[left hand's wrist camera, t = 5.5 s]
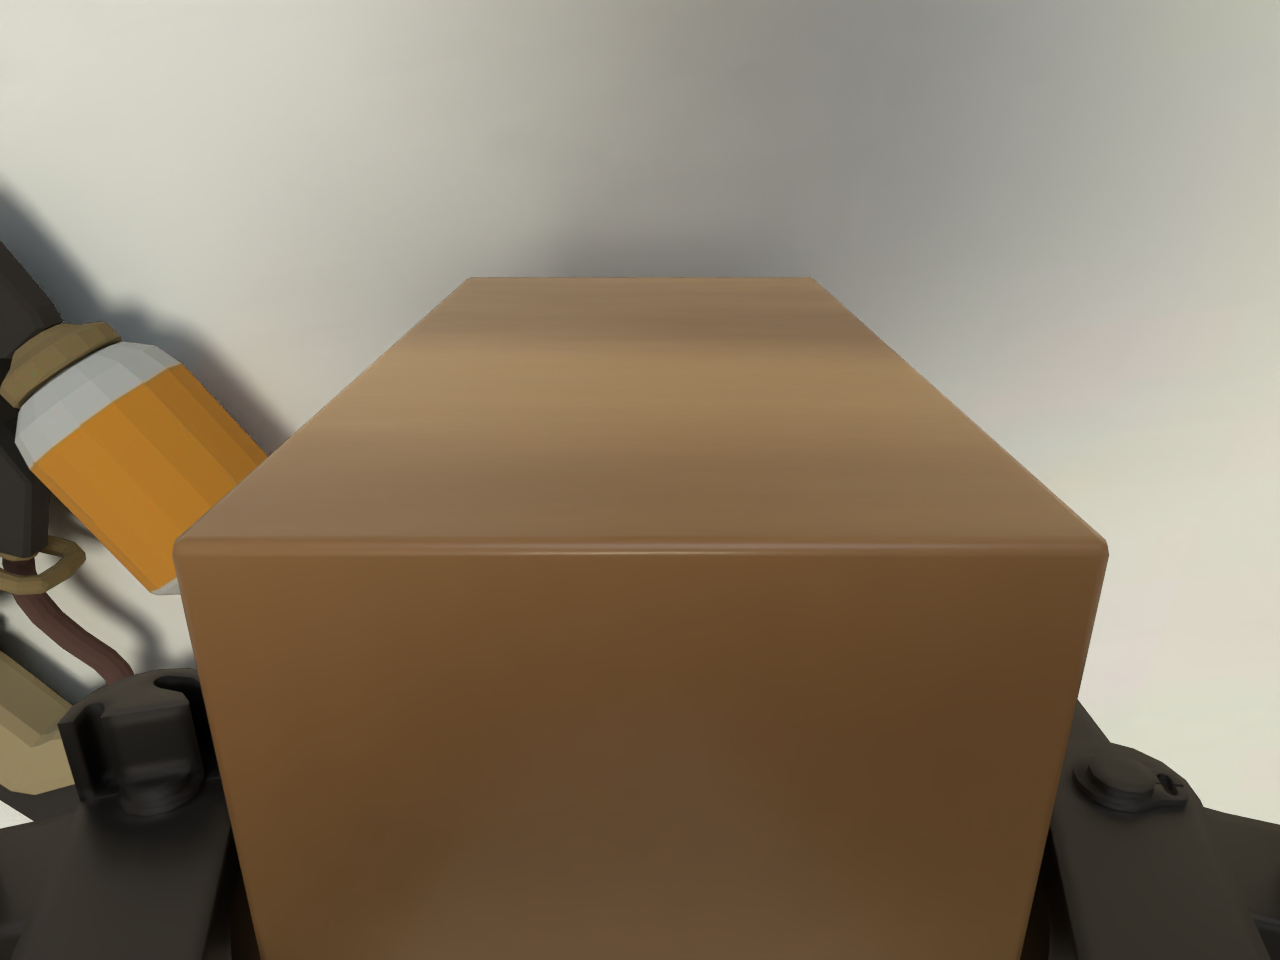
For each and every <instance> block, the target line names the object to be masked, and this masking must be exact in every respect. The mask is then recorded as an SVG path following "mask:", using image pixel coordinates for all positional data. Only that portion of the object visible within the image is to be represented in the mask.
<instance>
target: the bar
mask: <svg viewBox="0 0 1280 960" xmlns="http://www.w3.org/2000/svg"><path fill="white" fill-rule="evenodd" d="M172 557H173V562H174V566H175V571H176V575H177V580H178V585H179V589H180V594H181V598H182V603H183V607H184V612H185V616H186V621H187V626H188V630H189V635H190V639H191V644H192V648H193V653H194V657H195V662H196V667H197V671H198V676H199V680H200V685H201V689H202V694H203V698H204V703H205V708H206V712H207V717H208V721H209V726H210V730H211V735H212V739H213V744H214V749H215V753H216V758H217V762H218V767H219V771H220V776H221V780H222V785H223V790H224V794H225V799H226V803H227V808H228V812H229V817H230V821H231V826H232V831H233V835H234V840H235V844H236V849H237V853H238V858H239V862H240V867H241V872H242V876H243V881H244V885H245V890H246V894H247V899H248V903H249V908H250V913H251V917H252V922H253V926H254V931H255V935H256V940H257V944H258V949H259V954H260V958H261V960H1020V957H1021V953H1022V948H1023V943H1024V939H1025V934H1026V930H1027V925H1028V921H1029V916H1030V912H1031V907H1032V903H1033V898H1034V893H1035V889H1036V884H1037V880H1038V875H1039V871H1040V866H1041V862H1042V857H1043V853H1044V848H1045V844H1046V839H1047V834H1048V830H1049V825H1050V821H1051V816H1052V812H1053V807H1054V803H1055V798H1056V794H1057V789H1058V784H1059V780H1060V775H1061V771H1062V766H1063V762H1064V757H1065V753H1066V748H1067V744H1068V739H1069V734H1070V730H1071V725H1072V721H1073V716H1074V712H1075V707H1076V703H1077V698H1078V694H1079V689H1080V685H1081V680H1082V675H1083V671H1084V666H1085V662H1086V657H1087V653H1088V648H1089V644H1090V639H1091V635H1092V630H1093V625H1094V621H1095V616H1096V612H1097V607H1098V603H1099V598H1100V594H1101V589H1102V585H1103V580H1104V576H1105V571H1106V566H1107V562H1108V557H1109V552H1108V546H1107V543H1106V540H1105V539H1104V538H1103V537H1102V536H1101V535H1100V534H1098V533H1097V532H1096V531H1095V530H1094V529H1093V528H1092V527H1091V526H1089V525H1088V524H1087V523H1086V522H1085V521H1084V520H1083V519H1082V518H1080V517H1079V516H1078V515H1077V514H1076V513H1075V512H1074V511H1073V510H1072V509H1070V508H1069V507H1068V506H1067V505H1066V504H1065V503H1064V502H1063V501H1061V500H1060V499H1059V498H1058V497H1057V496H1056V495H1055V494H1054V493H1052V492H1051V491H1050V490H1049V489H1048V488H1047V487H1046V486H1045V485H1044V484H1042V483H1041V482H1040V481H1039V480H1038V479H1037V478H1036V477H1035V476H1033V475H1032V474H1031V473H1030V472H1029V471H1028V470H1027V469H1026V468H1024V467H1023V466H1022V465H1021V464H1020V463H1019V462H1018V461H1017V460H1016V459H1014V458H1013V457H1012V456H1011V455H1010V454H1009V453H1008V452H1007V451H1005V450H1004V449H1003V448H1002V447H1001V446H1000V445H999V444H998V443H996V442H995V441H994V440H993V439H992V438H991V437H990V436H989V435H988V434H986V433H985V432H984V431H983V430H982V429H981V428H980V427H979V426H977V425H976V424H975V423H974V422H973V421H972V420H971V419H970V418H968V417H967V416H966V415H965V414H964V413H963V412H962V411H961V410H960V409H958V408H957V407H956V406H955V405H954V404H953V403H952V402H951V401H949V400H948V399H947V398H946V397H945V396H944V395H943V394H942V393H940V392H939V391H938V390H937V389H936V388H935V387H934V386H933V385H932V384H930V383H929V382H928V381H927V380H926V379H925V378H924V377H923V376H921V375H920V374H919V373H918V372H917V371H916V370H915V369H914V368H912V367H911V366H910V365H909V364H908V363H907V362H906V361H905V360H904V359H902V358H901V357H900V356H899V355H898V354H897V353H896V352H895V351H893V350H892V349H891V348H890V347H889V346H888V345H887V344H886V343H884V342H883V341H882V340H881V339H880V338H879V337H878V336H877V335H876V334H874V333H873V332H872V331H871V330H870V329H869V328H868V327H867V326H865V325H864V324H863V323H862V322H861V321H860V320H859V319H858V318H856V317H855V316H854V315H853V314H852V313H851V312H850V311H849V310H848V309H846V308H845V307H844V306H843V305H842V304H841V303H840V302H839V301H837V300H836V299H835V298H834V297H833V296H832V295H831V294H830V293H828V292H827V291H826V290H825V289H824V288H823V287H822V286H821V285H820V284H818V283H817V282H816V281H815V280H814V279H812V278H751V277H750V278H749V277H471V278H469V279H467V280H466V281H465V282H463V283H462V284H461V285H460V286H459V287H458V288H457V289H456V290H454V291H453V292H452V293H451V294H450V295H449V296H448V297H447V298H446V299H444V300H443V301H442V302H441V303H440V304H439V305H438V306H437V307H435V308H434V309H433V310H432V311H431V312H430V313H429V314H428V315H426V316H425V317H424V318H423V319H422V320H421V321H420V322H419V323H418V324H416V325H415V326H414V327H413V328H412V329H411V330H410V331H409V332H407V333H406V334H405V335H404V336H403V337H402V338H401V339H400V340H399V341H397V342H396V343H395V344H394V345H393V346H392V347H391V348H390V349H388V350H387V351H386V352H385V353H384V354H383V355H382V356H381V357H379V358H378V359H377V360H376V361H375V362H374V363H373V364H372V365H371V366H369V367H368V368H367V369H366V370H365V371H364V372H363V373H362V374H360V375H359V376H358V377H357V378H356V379H355V380H354V381H353V382H351V383H350V384H349V385H348V386H347V387H346V388H345V389H344V390H343V391H341V392H340V393H339V394H338V395H337V396H336V397H335V398H334V399H332V400H331V401H330V402H329V403H328V404H327V405H326V406H325V407H323V408H322V409H321V410H320V411H319V412H318V413H317V414H316V415H315V416H313V417H312V418H311V419H310V420H309V421H308V422H307V423H306V424H304V425H303V426H302V427H301V428H300V429H299V430H298V431H297V432H295V433H294V434H293V435H292V436H291V437H290V438H289V439H288V440H287V441H285V442H284V443H283V444H282V445H281V446H280V447H279V448H278V449H276V450H275V451H274V452H273V453H272V454H271V455H270V456H269V457H267V458H266V459H265V460H264V461H263V462H262V463H261V464H260V465H259V466H257V467H256V468H255V469H254V470H253V471H252V472H251V473H250V474H248V475H247V476H246V477H245V478H244V479H243V480H242V481H241V482H239V483H238V484H237V485H236V486H235V487H234V488H233V489H232V490H231V491H229V492H228V493H227V494H226V495H225V496H224V497H223V498H222V499H220V500H219V501H218V502H217V503H216V504H215V505H214V506H213V507H211V508H210V509H209V510H208V511H207V512H206V513H205V514H204V515H203V516H201V517H200V518H199V519H198V520H197V521H196V522H195V523H194V524H192V525H191V526H190V527H189V528H188V529H187V530H186V531H185V532H183V533H182V534H181V535H180V536H179V537H178V538H177V539H176V540H175V542H174V545H173V552H172Z"/></svg>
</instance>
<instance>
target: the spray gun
mask: <svg viewBox="0 0 1280 960" xmlns="http://www.w3.org/2000/svg"><path fill="white" fill-rule="evenodd" d="M61 322H63V320H62V319H61V317H60V315H59V313H58V312H57V310H56V308H55V306H54V305H53V303H52V302H51V301H50V299H49V298H48V297H47V296H46V295H45V293H44V292H43V291H42V290H41V289H40V287H39V286H38V285H37V284H36V283H35V281H34V280H33V279H32V278H31V277H30V276H29V274H28V273H27V272H26V271H25V270H24V268H23V267H22V266H21V265H20V264H19V262H18V261H17V260H16V259H15V258H14V256H13V255H12V254H11V253H10V252H9V251H8V249H7V248H6V247H5V246H4V245H3V243H2V242H1V241H0V556H1V557H2V562H3V568H4V569H2V568H0V590H2V591H6V592H10V593H12V594H13V596H14V598H15V600H16V602H17V604H18V605H19V606H20V608H21V609H22V610H23V611H24V612H25V614H26V615H27V616H28V617H29V619H30V620H31V621H32V622H33V623H34V624H35V625H36V626H37V627H38V628H39V629H41V630H42V631H43V632H44V633H45V634H46V635H48V636H49V637H50V638H51V639H52V640H53V641H55V642H56V643H57V644H58V645H59V646H60V647H62V648H63V649H65V650H66V651H68V652H69V653H71V654H72V655H74V656H75V657H77V658H78V659H80V660H81V661H83V662H84V663H86V664H87V665H89V666H90V667H92V668H93V669H95V670H96V671H97V672H98V673H99V674H100V675H101V676H102V677H103V678H104V679H105V680H106V684H107V685H109V684H111V683H114V682H116V681H118V680H121V679H123V678H126V677H128V676H132V675H134V673H133V671H132V669H131V667H130V665H129V664H128V663H127V662H126V661H125V660H124V659H123V658H122V657H121V656H120V655H119V654H118V653H117V652H116V651H115V650H114V649H112V648H111V647H109V646H108V645H106V644H105V643H103V642H102V641H100V640H99V639H97V638H96V637H94V636H93V635H91V634H90V633H88V632H87V631H85V630H84V629H83V628H82V627H81V626H79V625H78V624H77V623H76V622H74V621H73V620H72V619H71V618H70V617H68V616H67V615H66V614H65V613H63V612H62V611H61V609H60V608H59V607H58V606H57V605H56V604H55V602H54V601H53V600H52V599H51V598H50V597H49V595H48V594H47V593H46V591H48V590H50V589H51V588H53V587H55V586H56V585H58V584H60V583H61V582H63V581H65V580H66V579H68V578H69V577H70V576H71V575H72V574H73V573H74V572H75V571H76V570H77V569H78V568H79V567H80V566H81V565H82V564H83V563H84V561H85V560H86V555H85V552H84V551H83V550H82V549H81V548H80V547H79V546H78V545H77V544H76V543H75V542H72V541H69V540H65V539H62V538H59V537H54V536H49V535H48V522H49V501H50V491H51V492H52V493H53V494H54V495H55V496H56V497H57V498H58V499H59V500H60V501H61V502H62V503H63V504H64V505H65V506H66V507H67V508H68V509H69V510H70V511H71V512H72V513H73V514H74V515H75V516H76V517H77V518H78V519H79V520H80V521H81V522H82V523H83V524H84V525H85V526H86V527H87V528H88V530H89V531H90V532H91V533H92V534H93V535H94V536H95V537H96V538H97V539H98V540H99V541H100V542H101V543H102V544H103V545H104V546H105V547H106V548H107V549H108V550H109V551H110V552H111V553H112V554H113V555H114V556H115V557H116V558H117V559H118V560H119V561H120V562H121V563H122V564H123V565H124V566H125V567H126V568H127V569H128V570H129V571H130V572H131V573H132V574H133V575H134V576H135V578H136V579H137V580H138V581H139V582H140V583H141V584H142V585H143V586H144V587H145V588H146V589H147V590H148V591H149V592H150V593H153V594H155V595H175V594H180V589H179V585H178V580H177V575H176V571H175V566H174V562H173V557H172V552H173V545H174V542H175V540H176V539H177V538H178V537H179V536H180V535H181V534H182V533H183V532H185V531H186V530H187V529H188V528H189V527H190V526H191V525H192V524H194V523H195V522H196V521H197V520H198V519H199V518H200V517H201V516H203V515H204V514H205V513H206V512H207V511H208V510H209V509H210V508H211V507H213V506H214V505H215V504H216V503H217V502H218V501H219V500H220V499H222V498H223V497H224V496H225V495H226V494H227V493H228V492H229V491H231V490H232V489H233V488H234V487H235V486H236V485H237V484H238V483H239V482H241V481H242V480H243V479H244V478H245V477H246V476H247V475H248V474H250V473H251V472H252V471H253V470H254V469H255V468H256V467H257V466H259V465H260V464H261V463H262V462H263V461H264V460H265V459H266V458H267V457H268V456H267V455H266V454H265V453H264V452H263V451H262V449H261V448H260V447H259V446H258V445H257V444H256V443H255V442H254V441H253V440H252V439H251V438H250V436H249V435H248V434H247V433H246V432H245V431H244V430H243V429H242V428H241V427H240V426H239V425H238V423H237V422H236V421H235V420H234V419H233V418H232V417H231V416H230V415H229V414H228V413H227V412H226V410H225V409H224V408H223V407H222V406H221V405H220V404H219V403H218V402H217V401H216V400H215V399H214V397H213V396H212V395H211V394H210V393H209V392H208V391H207V390H206V389H205V388H204V387H203V386H202V385H201V383H200V382H199V381H198V380H197V379H196V378H195V377H194V376H193V375H192V374H191V373H190V372H189V370H188V369H187V368H186V367H185V366H184V365H183V364H182V363H181V362H179V361H178V360H176V359H175V358H173V357H172V356H170V355H169V354H167V353H166V352H164V351H163V350H161V349H160V348H158V347H157V346H155V345H148V344H140V343H132V342H121V337H120V336H119V335H118V334H117V333H116V332H115V331H114V329H113V328H112V327H111V326H110V325H109V324H107V323H105V322H101V321H100V322H93V323H87V324H80V325H77V324H66V323H63V324H60V323H61ZM17 408H21V409H20V411H19V413H18V417H17ZM39 552H42V553H46V554H51V555H56V556H60V557H63V558H62V559H61V560H60V561H59V562H57V563H56V564H55V565H54V566H52V567H51V568H49V569H47V570H46V571H44V572H43V573H41V574H39V575H37V573H36V569H35V559H34V557H35V556H36V555H37V554H38V553H39ZM72 706H73V705H71V704H70V703H69V702H67V701H66V700H64V699H63V698H62V697H60V696H59V695H58V694H57V693H55V692H54V691H53V690H51V689H50V688H49V687H48V686H46V685H45V684H44V683H42V682H41V681H40V680H38V679H37V678H36V677H35V676H33V675H32V674H31V673H29V672H28V671H27V670H26V669H24V668H23V667H22V666H20V665H19V664H18V663H17V662H15V661H14V660H13V659H11V658H10V657H9V656H8V655H6V654H5V653H4V652H2V651H0V800H1V801H3V802H4V803H6V804H7V805H9V806H11V807H12V808H14V809H15V810H17V811H19V812H20V813H22V814H23V815H25V816H26V817H28V818H30V819H31V820H33V821H39V820H43V819H48V818H53V817H57V816H61V815H64V814H68V813H71V812H75V811H76V809H77V807H78V804H79V802H80V800H79V796H78V793H77V789H76V786H75V783H74V779H73V776H72V773H71V769H70V766H69V763H68V759H67V756H66V752H65V749H64V746H63V742H62V739H61V736H60V732H59V729H58V726H57V723H58V722H59V721H60V720H61V719H62V718H63V716H64V715H65V714H66V713H67V712H68V711H69V709H70V708H71V707H72Z"/></svg>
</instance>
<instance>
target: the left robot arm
mask: <svg viewBox="0 0 1280 960" xmlns="http://www.w3.org/2000/svg"><path fill="white" fill-rule="evenodd" d="M57 726H58V729H59V732H60V736H61V739H62V742H63V746H64V749H65V752H66V756H67V759H68V763H69V766H70V769H71V773H72V776H73V779H74V783H75V786H76V789H77V793H78V796H79V800H80V802H79V804H78V807H77V809H76V811H75V812H71V813H68V814H64V815H61V816H57V817H53V818H48V819H43V820H39V821H34V822H30V823H25V824H20V825H16V826H11V827H6V828H2V829H0V960H261V958H260V954H259V949H258V944H257V940H256V935H255V931H254V926H253V922H252V917H251V913H250V908H249V903H248V899H247V894H246V890H245V885H244V881H243V876H242V872H241V867H240V862H239V858H238V853H237V849H236V844H235V840H234V835H233V831H232V826H231V821H230V817H229V812H228V808H227V803H226V799H225V794H224V790H223V785H222V780H221V776H220V771H219V767H218V762H217V758H216V753H215V749H214V744H213V739H212V735H211V730H210V726H209V721H208V717H207V712H206V708H205V703H204V698H203V694H202V689H201V685H200V680H199V676H198V671H197V670H194V669H190V668H179V669H159V670H154V671H150V672H145V673H141V674H137V675H132V676H128V677H126V678H123V679H121V680H118V681H116V682H114V683H111V684H109V685H106V686H104V687H101V688H99V689H97V690H96V691H94V692H93V693H91V694H90V695H88V696H86V697H85V698H83V699H82V700H80V701H79V702H77V703H76V704H74V705H73V706H72V707H71V708H70V709H69V711H68V712H67V713H66V714H65V715H64V716H63V718H62V719H61V720H60V721H59V722H58V723H57ZM1020 960H1280V825H1278V824H1274V823H1269V822H1264V821H1260V820H1255V819H1250V818H1246V817H1241V816H1236V815H1232V814H1227V813H1223V812H1220V811H1216V810H1212V809H1209V808H1205V807H1203V805H1202V803H1201V801H1200V799H1199V798H1198V796H1197V795H1196V794H1195V792H1194V791H1193V789H1192V788H1191V787H1190V785H1189V784H1188V783H1187V781H1186V780H1185V779H1184V778H1182V777H1181V776H1180V775H1178V774H1177V773H1176V772H1174V771H1173V770H1172V769H1170V768H1169V767H1168V766H1167V765H1165V764H1164V763H1163V762H1161V761H1159V760H1157V759H1154V758H1152V757H1150V756H1148V755H1146V754H1144V753H1142V752H1140V751H1137V750H1135V749H1133V748H1129V747H1126V746H1122V745H1118V744H1114V743H1110V741H1109V740H1108V739H1107V737H1106V736H1105V735H1104V733H1103V732H1102V731H1101V730H1100V728H1099V727H1098V726H1097V724H1096V723H1095V722H1094V720H1093V719H1092V718H1091V716H1090V715H1089V714H1088V712H1087V711H1086V710H1085V708H1084V707H1083V706H1082V705H1081V703H1080V702H1079V701H1078V699H1077V703H1076V707H1075V712H1074V716H1073V721H1072V725H1071V730H1070V734H1069V739H1068V744H1067V748H1066V753H1065V757H1064V762H1063V766H1062V771H1061V775H1060V780H1059V784H1058V789H1057V794H1056V798H1055V803H1054V807H1053V812H1052V816H1051V821H1050V825H1049V830H1048V834H1047V839H1046V844H1045V848H1044V853H1043V857H1042V862H1041V866H1040V871H1039V875H1038V880H1037V884H1036V889H1035V893H1034V898H1033V903H1032V907H1031V912H1030V916H1029V921H1028V925H1027V930H1026V934H1025V939H1024V943H1023V948H1022V953H1021V957H1020Z"/></svg>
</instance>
